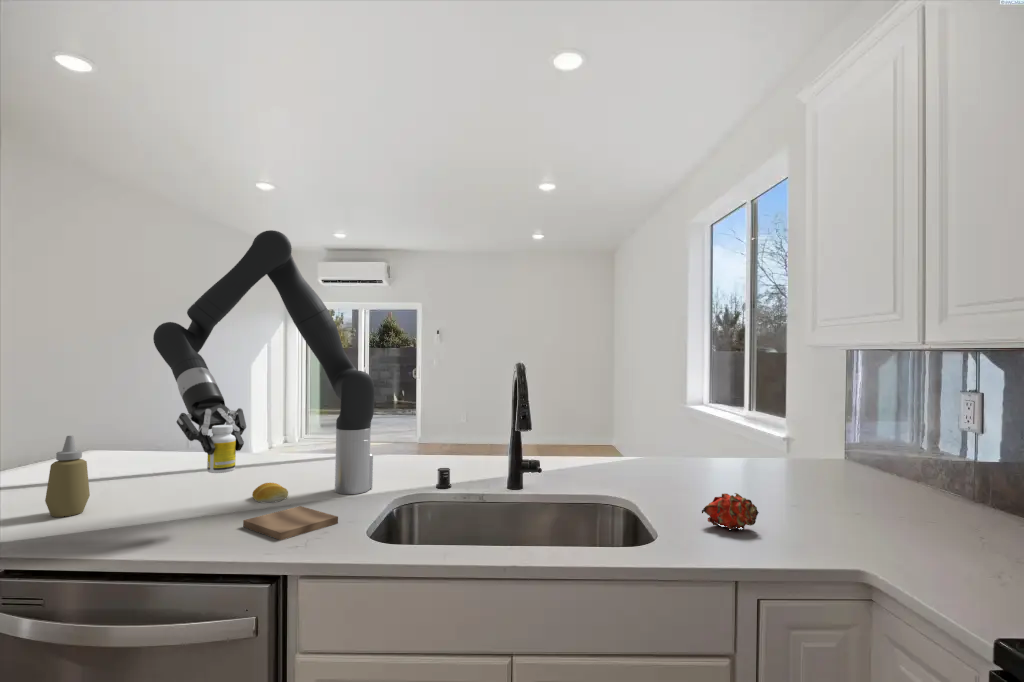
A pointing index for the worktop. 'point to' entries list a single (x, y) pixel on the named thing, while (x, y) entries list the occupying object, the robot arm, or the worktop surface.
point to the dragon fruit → (731, 511)
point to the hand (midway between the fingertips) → (226, 450)
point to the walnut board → (290, 522)
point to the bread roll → (270, 493)
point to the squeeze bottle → (67, 482)
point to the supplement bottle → (222, 450)
